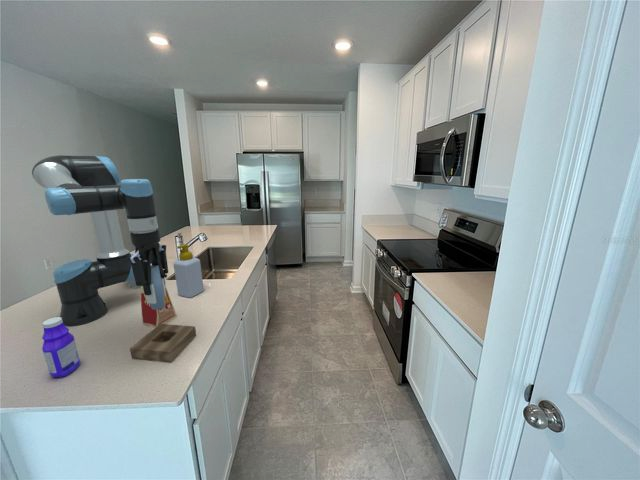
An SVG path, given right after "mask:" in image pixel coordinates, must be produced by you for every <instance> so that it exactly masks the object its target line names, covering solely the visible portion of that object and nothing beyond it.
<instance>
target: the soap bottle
mask: <svg viewBox="0 0 640 480" xmlns="http://www.w3.org/2000/svg"><path fill="white" fill-rule="evenodd" d="M177 249H181V252H180V253H179V257H178V258H179V259H177V260H175V261H174V262H173V263H172V264H173V269H174V276H175V277H174V278H175V283H176V290H177V294H178V296H180V297H186V298H193V297H195V296H197V295H199V294H201V293H202V292H204V291H205V289H204V283H203V282H204V281H203V273H202V272H203V271H202V266H201V259H199V258H197V257H193V253H192V251H189V246H188V243H183V244H180V245H178V246H177Z"/></svg>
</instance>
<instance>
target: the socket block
mask: <svg viewBox="0 0 640 480" xmlns="http://www.w3.org/2000/svg"><path fill="white" fill-rule="evenodd" d="M196 331H197V330H196V326H194V325H182V324H181V325H180V324H170V323H169V324H168V323H165V324H159V325H158V326H157V327H153V329H152V330H150V331H149V332H148V333H146V334H145V335H144V336H143V337H142V338H140V340H138V341H137V342H135V344H133V345H132V346H131V347H129V351H130V355H131V359H132V360H138V361H139V360H140V361H142V360H143V361H150V362H151V361H153V362H163V363H171V364H172V363H173V362H174V361H175V360H176V358H177V357H178V356H179V355H180V354H181V353H182V352H184V350H185V349H186V347H188V345H190V343H191V342H192V341H194V339H196V337H197V332H196Z"/></svg>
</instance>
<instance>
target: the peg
mask: <svg viewBox="0 0 640 480" xmlns="http://www.w3.org/2000/svg"><path fill="white" fill-rule="evenodd" d="M151 284H153V285H154V290H155V296H156V301H157V303H155V304H151V308H152V309H154V310H156V309H161V308H163V307H165V299H164V294H163V288H162V282H161V276H160V271H159V266H158V265H151Z"/></svg>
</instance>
